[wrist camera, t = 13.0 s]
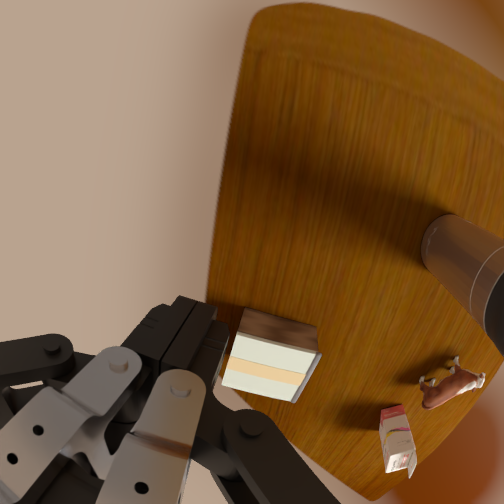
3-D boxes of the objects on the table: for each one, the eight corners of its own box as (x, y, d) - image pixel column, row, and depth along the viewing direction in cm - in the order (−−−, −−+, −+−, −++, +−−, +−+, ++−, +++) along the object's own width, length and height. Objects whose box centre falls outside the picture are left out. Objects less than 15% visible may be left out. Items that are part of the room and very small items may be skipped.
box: (316, 326, 41) (318, 351, 36) (294, 372, 45) (293, 398, 39) (245, 307, 42) (237, 329, 36) (230, 355, 45) (222, 380, 40)
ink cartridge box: (379, 409, 46) (392, 468, 32) (402, 403, 45) (419, 461, 31) (377, 431, 48) (387, 485, 35) (399, 426, 47) (411, 479, 33)
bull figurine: (473, 360, 40) (489, 386, 32) (415, 390, 43) (426, 420, 36) (472, 345, 39) (491, 371, 31) (412, 377, 42) (424, 408, 35)
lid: (321, 352, 36) (322, 356, 35) (295, 398, 39) (295, 403, 38) (237, 331, 36) (236, 335, 35) (222, 381, 39) (221, 385, 38)
